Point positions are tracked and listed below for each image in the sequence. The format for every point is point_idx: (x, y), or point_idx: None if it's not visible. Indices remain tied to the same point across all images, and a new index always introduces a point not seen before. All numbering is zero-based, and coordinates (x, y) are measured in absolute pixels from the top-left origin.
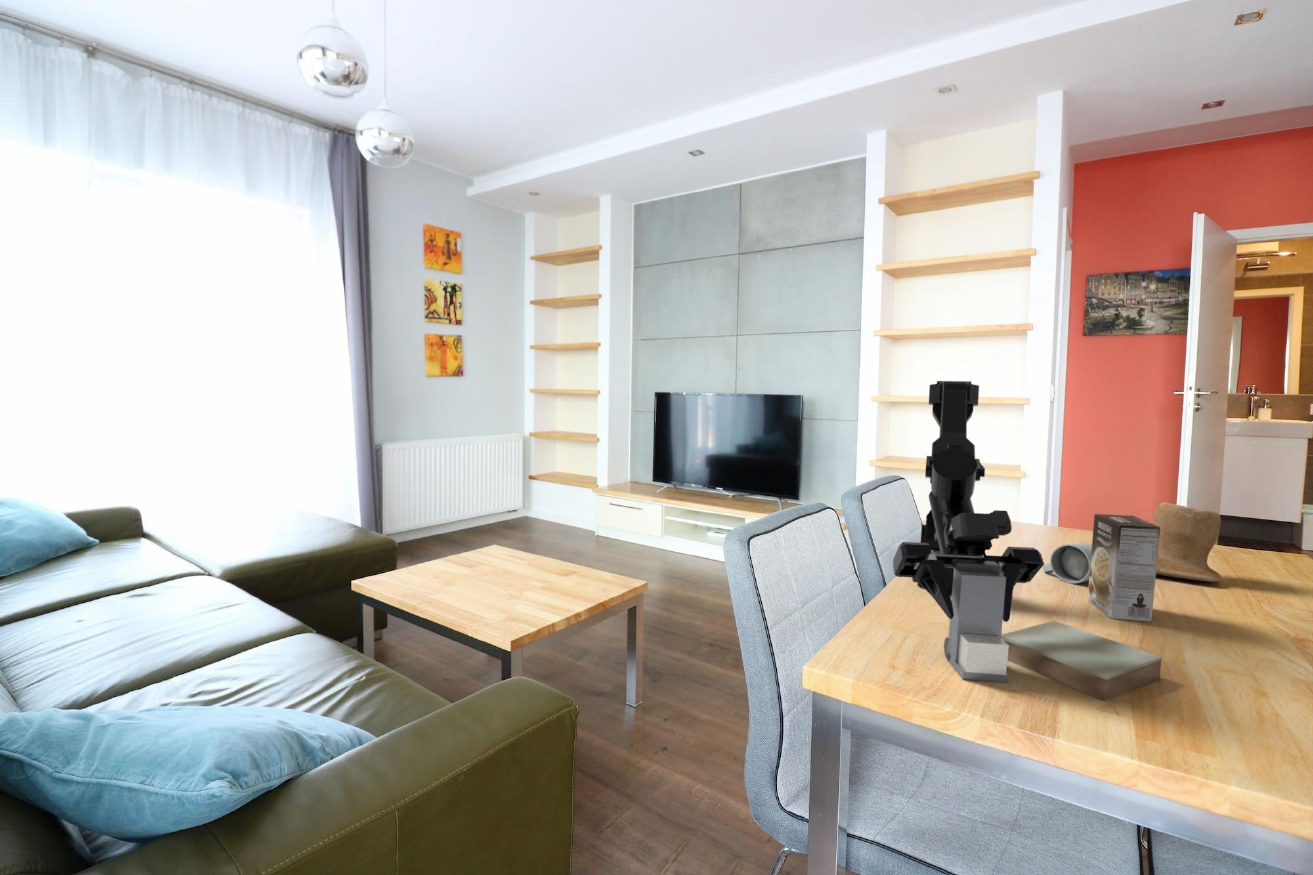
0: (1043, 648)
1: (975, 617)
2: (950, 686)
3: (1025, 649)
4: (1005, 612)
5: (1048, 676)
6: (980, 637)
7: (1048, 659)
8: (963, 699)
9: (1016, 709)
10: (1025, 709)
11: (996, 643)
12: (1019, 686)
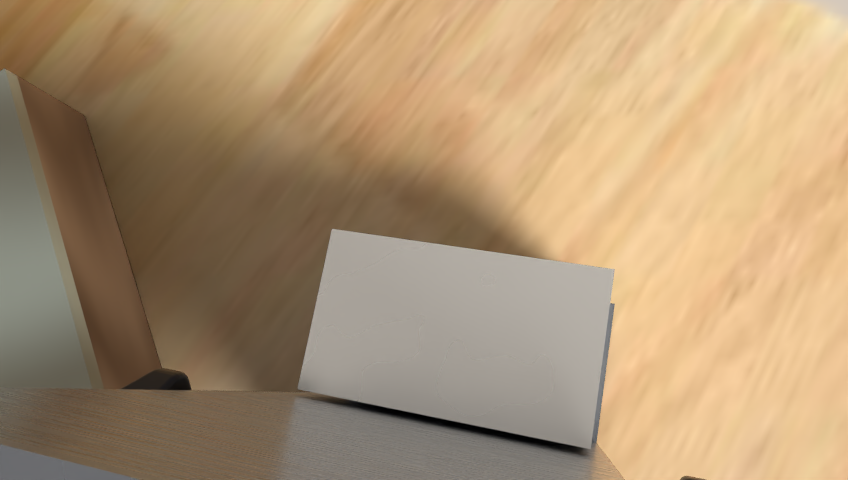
0: None
1: (451, 441)
2: (720, 234)
3: None
4: None
5: (148, 326)
6: (460, 361)
7: (93, 325)
8: (714, 103)
9: (505, 28)
10: (464, 30)
11: (402, 253)
12: None
